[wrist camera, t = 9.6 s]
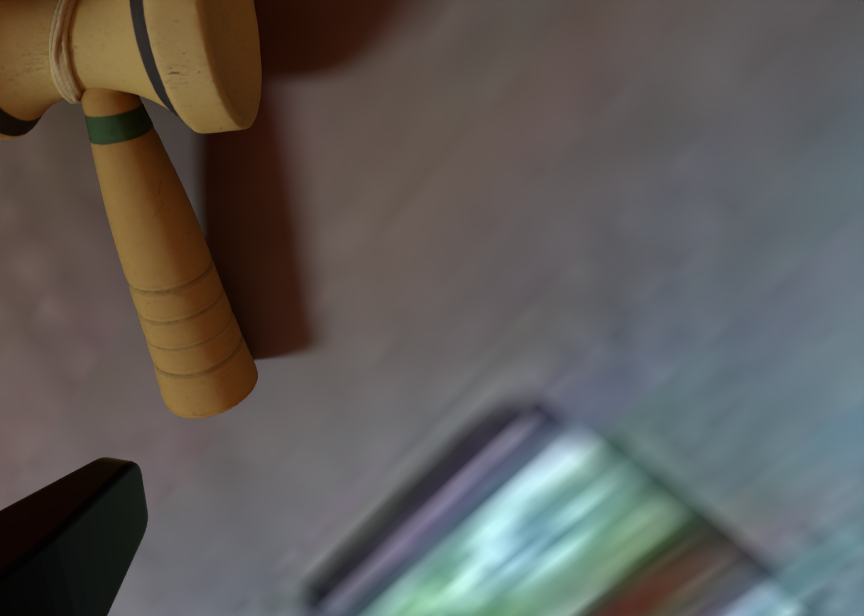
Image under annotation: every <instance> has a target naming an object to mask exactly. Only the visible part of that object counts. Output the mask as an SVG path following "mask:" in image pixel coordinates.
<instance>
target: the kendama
mask: <svg viewBox="0 0 864 616" xmlns="http://www.w3.org/2000/svg"><path fill="white" fill-rule="evenodd" d="M261 86H262V67H261V55H260V41H259V32H258V23H257V17H256V12H255V6H254V1H253V0H0V139H13V138H17V137H20V136H23V135H25V134H26V133H28V132H29V131H30V130H31V129H33V127H34V126H35V125H36V124H37V122H38V121H39V120H40V118H41V117H42V115H43V114H44V113H45V111H46V110H47V109H48V108H49V107H50V106H52V105H53V104H54V103H56V102H58V101H60V100H62V99H66V100H67V101H68V102H69V103H70V104H82V107H83V111H84V114H85V116H86V123H87V128H88V133H89V139H90V142H91V147H92V152H93V157H94V161H95V165H96V170H97V174H98V179H99V182H100V187H101V192H102V196H103V200H104V205H105V209H106V212H107V216H108V220H109V224H110V227H111V230H112V234H113V238H114V241H115V244H116V248H117V251H118V254H119V258H120V261H121V264H122V267H123V270H124V273H125V276H126V278H127V281H128V282H129V288H130V292H131V295H132V298H133V301H134V304H135V307H136V309H137V311H138V315H139V319H140V322H141V326H142V329H143V332H144V334H145V336H146V341H147V345H148V348H149V351H150V354H151V357H152V359H153V362H154V368H155V372H156V376H157V379H158V383H159V387H160V390H161V394H162V398H163V400H164V402H165V404H166V406H167V408H168V409H169V410H170V411H171V412H173V413H174V414H176V415H178V416H181V417H186V418H204V417H209V416H213V415H216V414H219V413H222V412H225V411H227V410H229V409H231V408H232V407H234V406H236V405H237V404H239V403H240V402H241V401H242V400H244V399H245V398H246V397H247V396H248V395H249V394H250V393H251V391H252V390H253V389H254V387H255V384H256V382H257V379H258V372H257V368H256V365H255V363H254V361H253V358H252V356H251V354H250V351H249V349H248V347H247V344H246V342H245V340H244V338H243V335H242V334H241V330H240V328H239V325H238V323H237V320H236V318H235V316H234V314H233V312H232V310H231V306H230V304H229V301H228V298H227V296H226V293H225V291H224V288H223V286H222V284H221V280H220V278H219V275H218V272H217V270H216V267H215V265H214V262H213V260H212V259H211V255H210V252H209V249H208V246H207V243H206V241H205V238H204V236H203V233H202V230H201V228H200V225H199V223H198V220H197V218H196V215H195V213H194V210H193V208H192V205H191V203H190V201H189V199H188V197H187V194H186V192H185V190H184V188H183V185H182V183H181V181H180V179H179V177H178V175H177V173H176V170H175V168H174V166H173V164H172V163H171V161H170V158H169V156H168V154H167V152H166V150H165V148H164V146H163V144H162V142H161V139H160V137H159V135H158V133H157V132H156V130H155V129H154V126H153V123H152V121H151V119H150V118H149V115H148V113H147V111H146V109H145V107H144V105H143V103H142V102H141V100H140V97H139V96H142V97H145V98H147V99H150V100H152V101H154V102H156V103H158V104H160V105H162V106H164V107H165V108H167V109H169V110H170V111H171V112H173V113H174V114H175V115H176V116H178V117H179V118H180V119H181V120H182V121H183V122H185V123H186V124H187V125H188V126H189V127H190V128H191V129H193V130H194V131H195V132H198V133H217V132H225V131H234V130H243V129H247V128H250V127H251V125H252V124H253V122H254V120H255V118H256V116H257V113H258V108H259V104H260V99H261Z"/></svg>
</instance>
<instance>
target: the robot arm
mask: <svg viewBox="0 0 864 616" xmlns="http://www.w3.org/2000/svg"><path fill="white" fill-rule="evenodd" d="M147 522H148V511H147V504H146V498H145V492H144V486H143V479H142V473H141V470H140V467H139V466H138V465H137V464H136V463H134V462H133V461H127V460H121V459H115V458H109V457H105V458H99V459H97V460H95V461H93V462H91V463H89V464H87V465H85V466H83V467H81V468H80V469H78V470H76V471H74V472H72V473H70V474H68V475H66V476H64V477H63V478H61V479H59V480H57V481H55V482H53V483H51V484H49V485H48V486H46V487H44V488H42V489H40V490H38V491H36V492H34V493H33V494H31V495H29V496H27V497H25V498H23V499H21V500H19V501H17V502H16V503H14V504H12V505H10V506H8V507H6V508H4V509H2V510H1V511H0V616H107V615H108V613H109V611H110V608H111V606H112V604H113V602H114V600H115V597H116V595H117V593H118V591H119V589H120V587H121V584H122V582H123V580H124V578H125V576H126V573H127V571H128V569H129V567H130V565H131V562H132V560H133V558H134V556H135V554H136V551H137V549H138V547H139V545H140V543H141V540H142V538H143V536H144V533H145V530H146V527H147Z"/></svg>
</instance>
